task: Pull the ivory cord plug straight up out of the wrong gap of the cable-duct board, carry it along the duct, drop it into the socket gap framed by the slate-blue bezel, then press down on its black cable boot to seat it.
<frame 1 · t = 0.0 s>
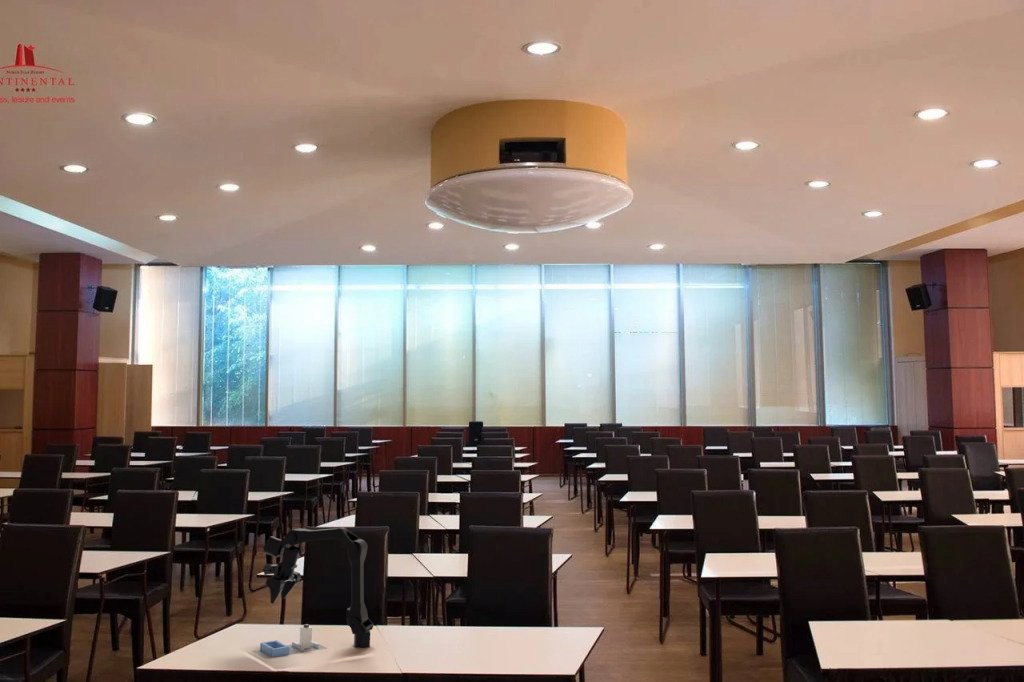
hand: (277, 600, 325), 15 cm above the table, tool pointing down, fingers open, 9 cm apart
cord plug: (305, 647, 313), point 1 cm above the table, touching duct board
duct board: (289, 652, 309), on the table
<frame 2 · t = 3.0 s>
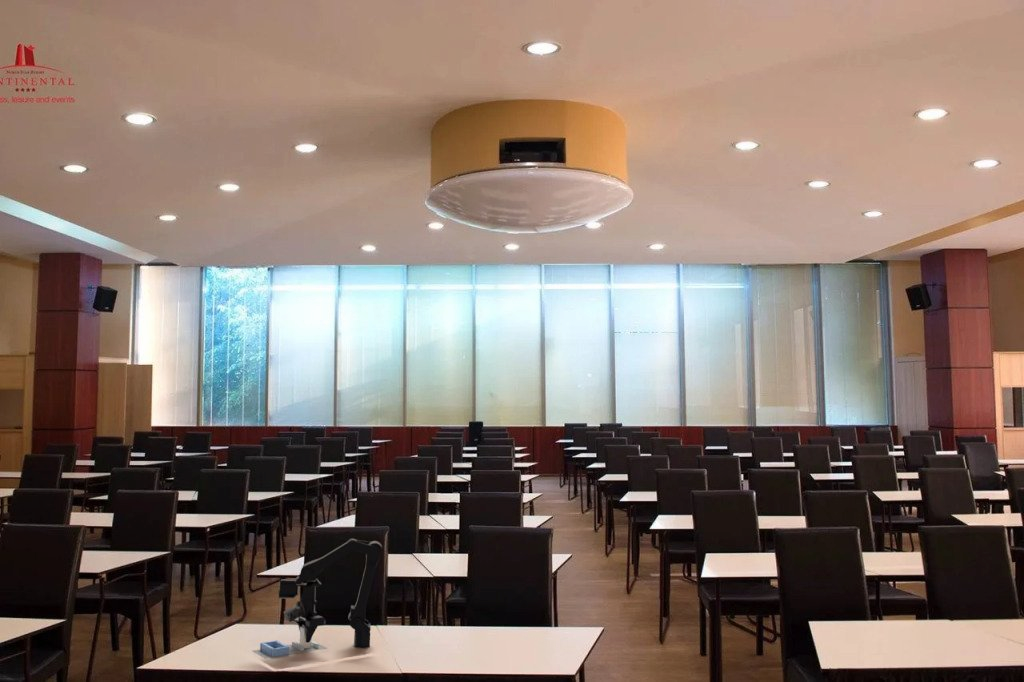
hand: (305, 641, 313), 3 cm above the table, tool pointing down, fingers closed on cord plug, 3 cm apart
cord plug: (305, 647, 313), point 1 cm above the table, touching duct board, gripper
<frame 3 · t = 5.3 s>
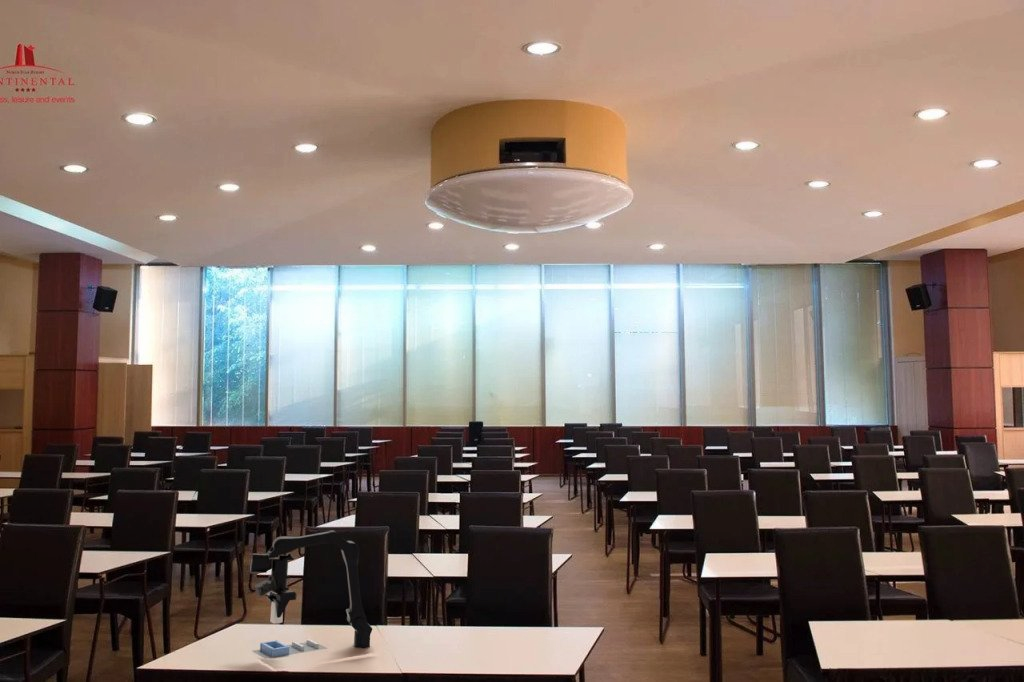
hand: (276, 616, 307), 13 cm above the table, tool pointing down, fingers closed on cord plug, 3 cm apart
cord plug: (276, 622, 307), point 11 cm above the table, touching gripper
when the fingers open (4 cm above the table, at t = 7.6 s): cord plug drops 3 cm, resting in duct board.
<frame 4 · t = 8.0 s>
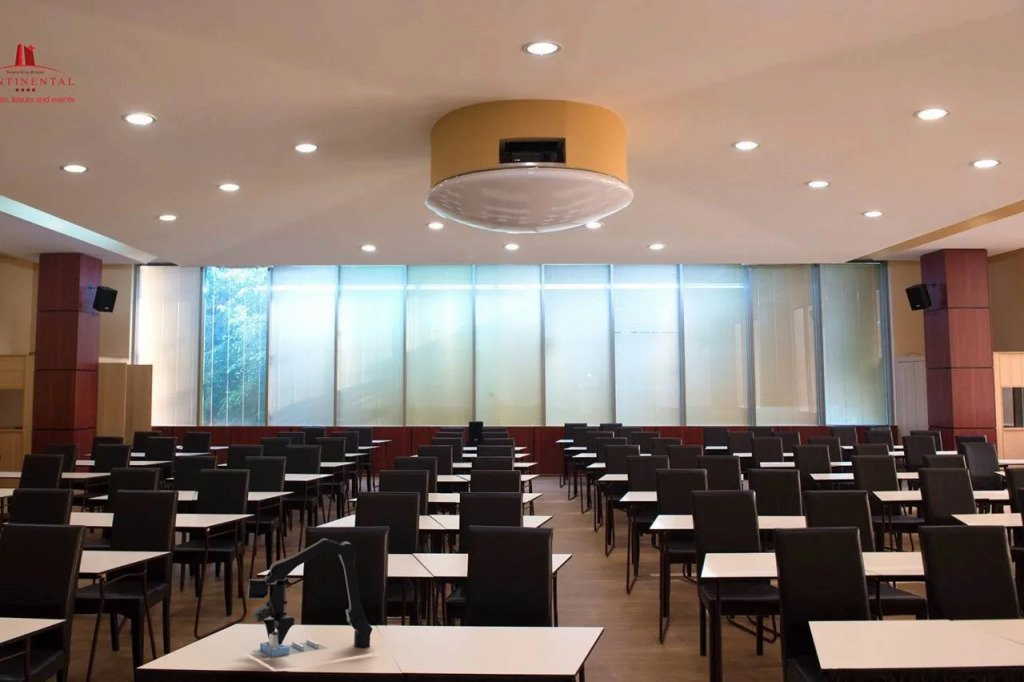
hand: (275, 641, 306), 4 cm above the table, tool pointing down, fingers open, 8 cm apart
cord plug: (274, 654, 306), resting in duct board
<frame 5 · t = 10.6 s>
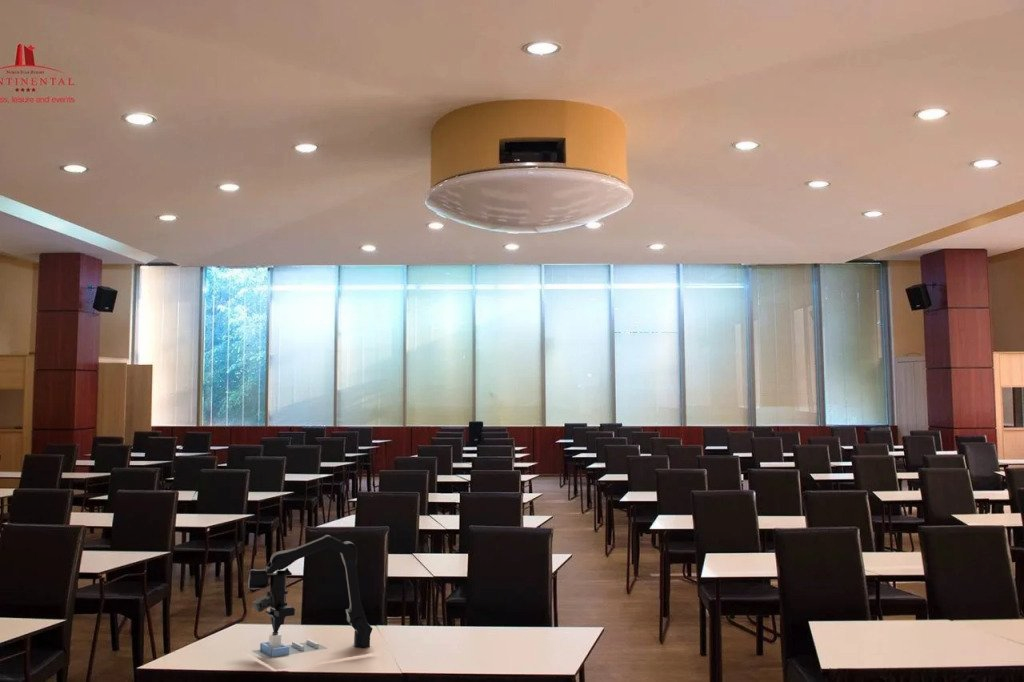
hand: (275, 632, 306), 8 cm above the table, tool pointing down, fingers closed, pressing on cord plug
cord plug: (274, 654, 306), resting in duct board, touching gripper
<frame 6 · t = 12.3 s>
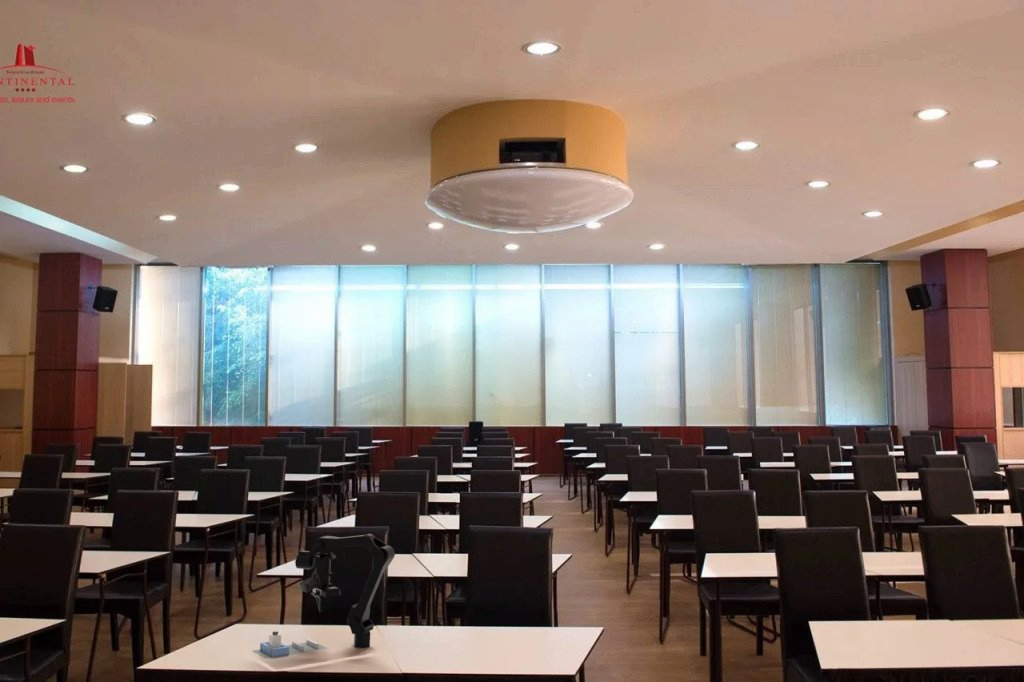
hand: (321, 612, 322), 12 cm above the table, tool pointing down, fingers closed
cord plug: (274, 654, 306), resting in duct board
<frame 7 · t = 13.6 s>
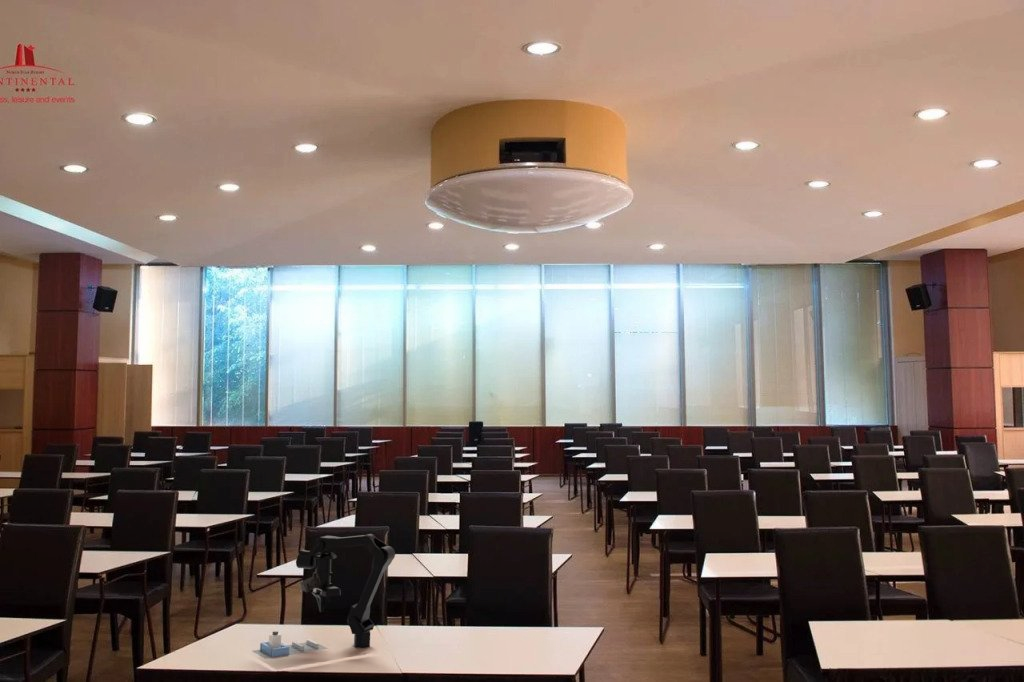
hand: (321, 611, 322), 12 cm above the table, tool pointing down, fingers closed
nothing on the table moved.
at the end: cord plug 0.0 cm from the target spot on the duct board, point 0.0 cm above the duct board's base; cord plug tilted 0°; the gripper is holding nothing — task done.
